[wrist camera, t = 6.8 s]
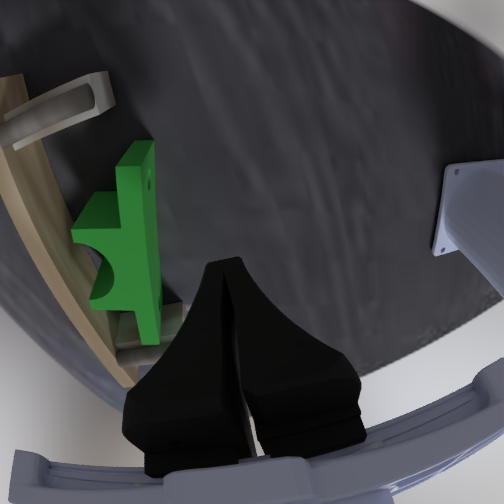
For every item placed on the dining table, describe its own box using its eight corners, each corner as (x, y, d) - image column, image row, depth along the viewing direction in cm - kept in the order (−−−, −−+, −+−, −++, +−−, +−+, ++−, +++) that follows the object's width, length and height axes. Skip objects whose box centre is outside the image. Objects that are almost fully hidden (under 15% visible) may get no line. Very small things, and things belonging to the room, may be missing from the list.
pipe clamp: (91, 141, 15) (60, 169, 11) (155, 138, 16) (141, 164, 12) (113, 296, 21) (102, 345, 18) (163, 297, 22) (159, 346, 18)
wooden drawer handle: (100, 37, 12) (70, 32, 8) (197, 336, 25) (199, 380, 21) (7, 82, 12) (-36, 94, 8) (127, 348, 24) (122, 389, 21)
